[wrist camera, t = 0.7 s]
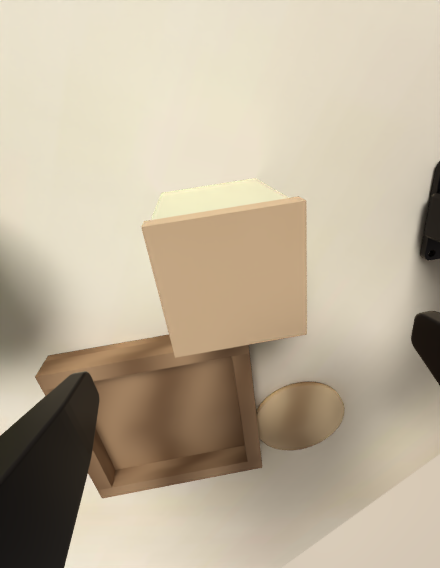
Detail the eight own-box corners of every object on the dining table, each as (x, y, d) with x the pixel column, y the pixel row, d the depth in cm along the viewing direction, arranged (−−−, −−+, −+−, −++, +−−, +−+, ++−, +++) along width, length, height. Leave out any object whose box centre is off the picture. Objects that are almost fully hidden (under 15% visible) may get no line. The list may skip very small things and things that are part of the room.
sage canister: (257, 174, 17) (306, 200, 11) (264, 265, 20) (306, 334, 13) (158, 190, 17) (141, 226, 10) (178, 280, 20) (175, 357, 13)
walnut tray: (242, 321, 22) (248, 339, 20) (257, 445, 28) (262, 467, 26) (48, 355, 21) (35, 376, 19) (107, 473, 28) (102, 498, 26)
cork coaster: (330, 368, 25) (333, 372, 24) (349, 426, 28) (352, 431, 28) (241, 403, 25) (242, 408, 25) (270, 455, 29) (271, 460, 29)
